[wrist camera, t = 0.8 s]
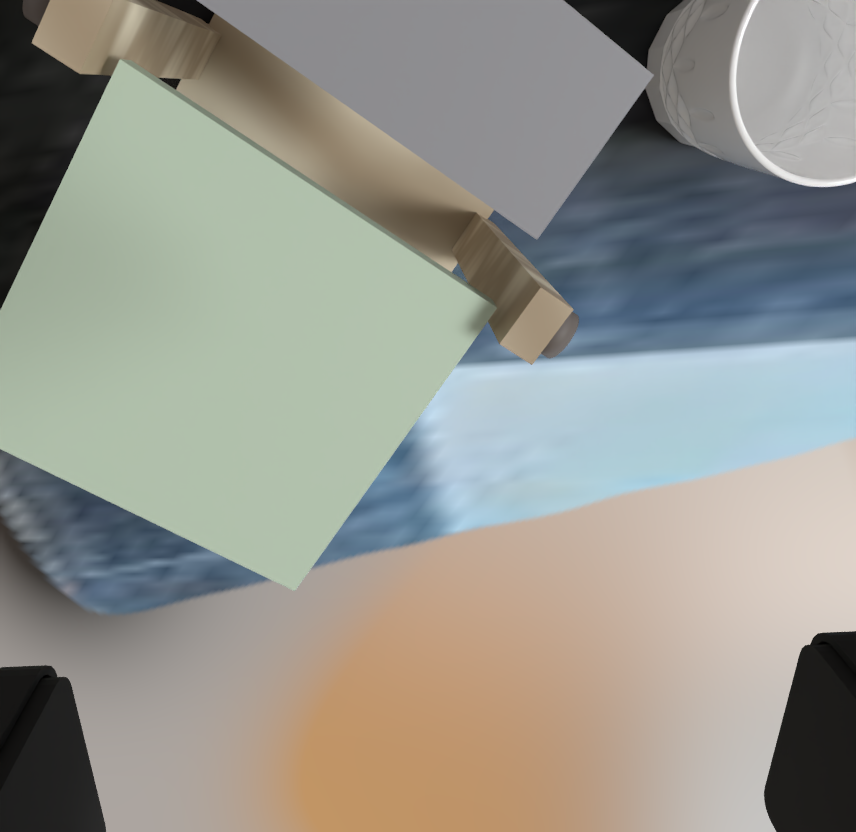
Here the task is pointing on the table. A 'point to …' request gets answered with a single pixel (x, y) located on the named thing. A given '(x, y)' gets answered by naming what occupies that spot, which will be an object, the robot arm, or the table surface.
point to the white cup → (761, 85)
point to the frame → (315, 147)
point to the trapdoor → (284, 268)
